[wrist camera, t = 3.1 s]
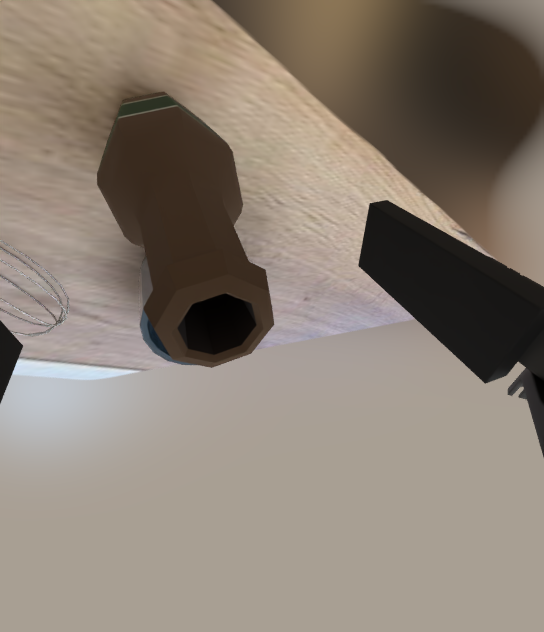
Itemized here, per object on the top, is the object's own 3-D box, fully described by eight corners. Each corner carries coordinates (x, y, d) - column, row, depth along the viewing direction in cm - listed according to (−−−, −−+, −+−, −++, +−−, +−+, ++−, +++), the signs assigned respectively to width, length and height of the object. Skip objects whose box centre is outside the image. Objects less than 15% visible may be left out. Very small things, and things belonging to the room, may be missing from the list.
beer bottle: (224, 158, 27) (375, 323, 10) (160, 209, 28) (200, 440, 11) (162, 63, 22) (266, 78, 5) (85, 130, 23) (-57, 343, 6)
